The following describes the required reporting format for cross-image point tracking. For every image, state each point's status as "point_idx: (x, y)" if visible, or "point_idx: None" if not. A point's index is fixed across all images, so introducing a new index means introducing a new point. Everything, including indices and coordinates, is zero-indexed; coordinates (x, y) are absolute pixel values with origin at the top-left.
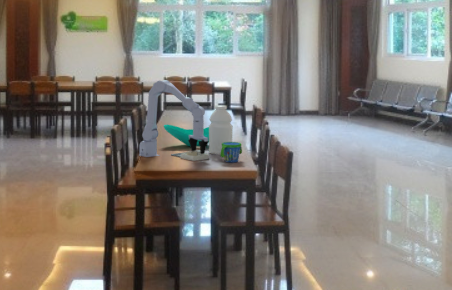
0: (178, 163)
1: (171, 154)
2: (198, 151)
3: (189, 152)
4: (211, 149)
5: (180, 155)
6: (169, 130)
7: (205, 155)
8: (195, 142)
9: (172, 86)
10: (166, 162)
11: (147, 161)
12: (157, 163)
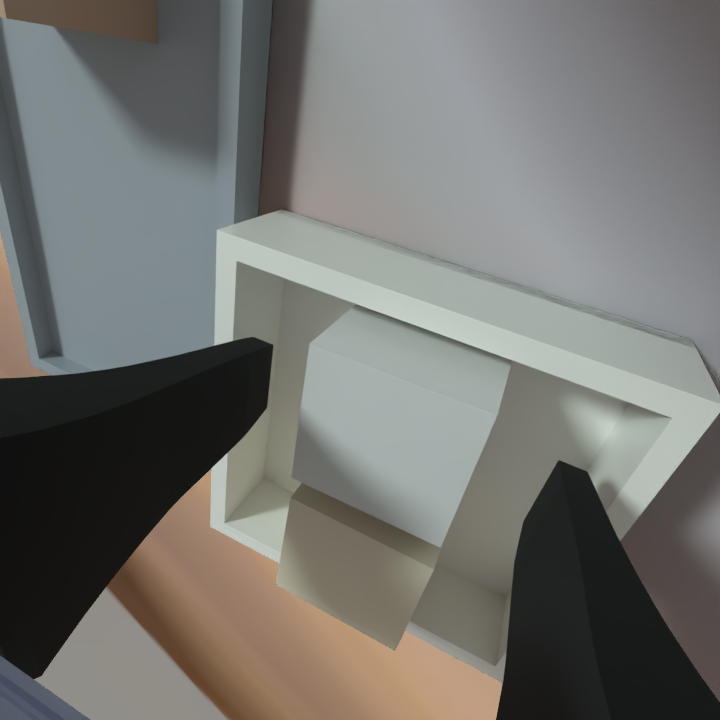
0: (428, 703)
1: (45, 368)
2: (438, 526)
3: (353, 620)
4: None
5: (103, 310)
6: None
7: (649, 488)
8: (78, 474)
9: None
10: (303, 666)
11: (177, 643)
12: (286, 706)
